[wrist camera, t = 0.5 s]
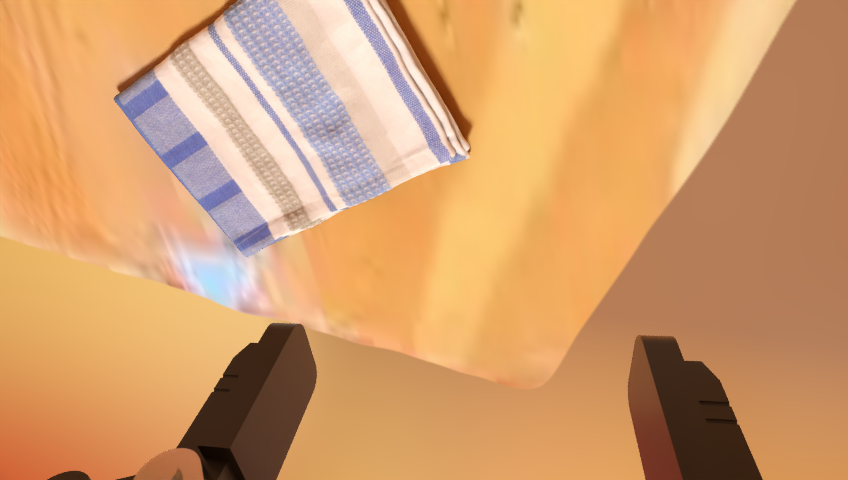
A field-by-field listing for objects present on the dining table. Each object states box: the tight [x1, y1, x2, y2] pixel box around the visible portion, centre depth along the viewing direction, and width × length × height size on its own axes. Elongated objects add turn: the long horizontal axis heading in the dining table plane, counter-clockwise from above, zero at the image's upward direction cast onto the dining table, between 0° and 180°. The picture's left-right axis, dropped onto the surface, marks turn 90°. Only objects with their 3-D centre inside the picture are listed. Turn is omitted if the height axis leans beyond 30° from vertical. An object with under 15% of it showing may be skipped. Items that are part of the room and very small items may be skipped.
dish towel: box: [114, 0, 470, 257], centre depth 38 cm, size 17×24×3 cm
